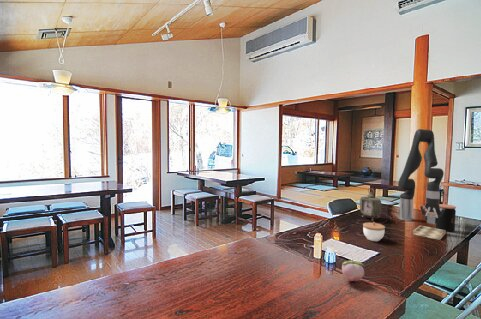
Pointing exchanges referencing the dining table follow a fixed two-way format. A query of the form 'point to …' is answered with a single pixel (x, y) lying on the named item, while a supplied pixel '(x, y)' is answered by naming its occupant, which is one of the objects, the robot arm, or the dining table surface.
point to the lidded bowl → (373, 231)
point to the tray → (429, 232)
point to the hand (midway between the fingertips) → (431, 222)
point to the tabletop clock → (370, 205)
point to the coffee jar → (446, 218)
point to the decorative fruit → (352, 270)
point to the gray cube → (431, 219)
